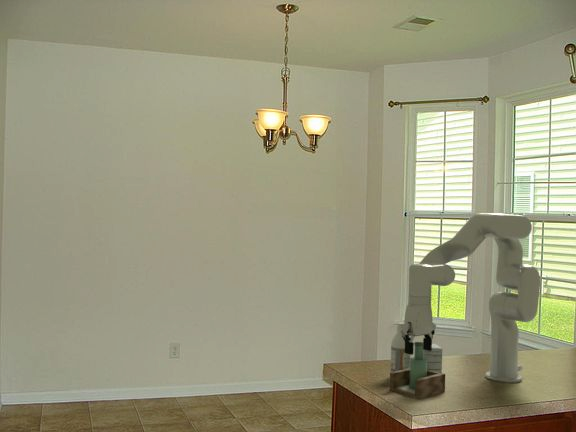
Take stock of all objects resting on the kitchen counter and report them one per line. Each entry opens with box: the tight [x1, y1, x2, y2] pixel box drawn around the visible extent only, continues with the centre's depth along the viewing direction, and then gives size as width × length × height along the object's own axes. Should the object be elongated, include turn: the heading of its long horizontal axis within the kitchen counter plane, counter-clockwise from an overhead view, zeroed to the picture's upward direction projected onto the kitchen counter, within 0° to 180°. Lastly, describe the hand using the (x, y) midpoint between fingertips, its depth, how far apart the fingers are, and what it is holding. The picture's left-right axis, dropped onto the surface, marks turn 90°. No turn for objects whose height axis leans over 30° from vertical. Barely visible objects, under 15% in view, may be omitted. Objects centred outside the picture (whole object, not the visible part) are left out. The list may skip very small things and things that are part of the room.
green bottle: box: [409, 341, 427, 389], centre depth 204 cm, size 6×6×15 cm
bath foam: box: [389, 322, 411, 373], centre depth 220 cm, size 7×7×20 cm
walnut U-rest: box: [389, 368, 446, 400], centre depth 204 cm, size 14×12×6 cm
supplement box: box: [423, 343, 443, 373], centre depth 218 cm, size 7×7×13 cm
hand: (418, 352), depth 204 cm, fingers open, 9 cm apart
